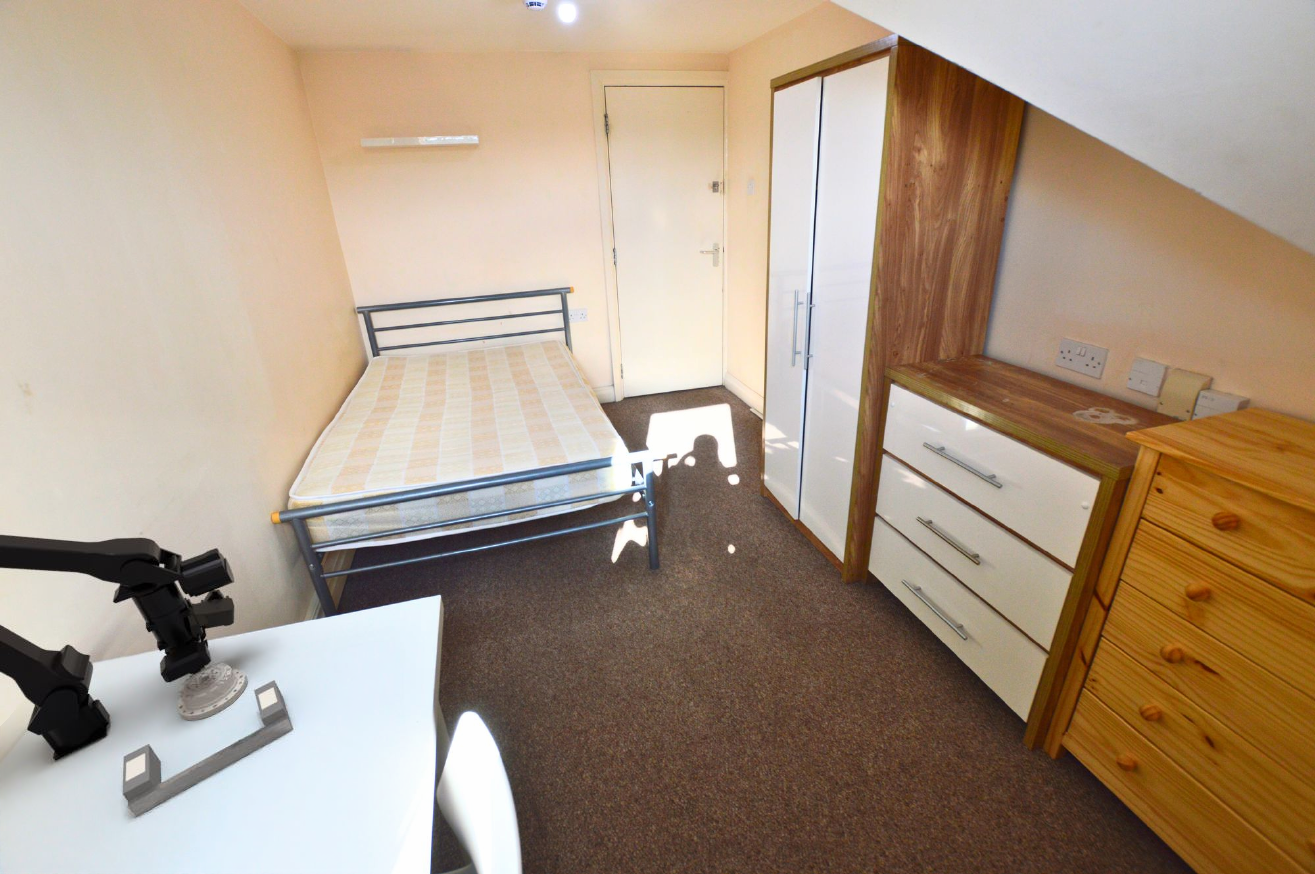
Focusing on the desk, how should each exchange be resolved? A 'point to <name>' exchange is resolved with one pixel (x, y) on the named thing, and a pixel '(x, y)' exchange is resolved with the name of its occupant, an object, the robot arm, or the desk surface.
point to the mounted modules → (146, 766)
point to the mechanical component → (210, 691)
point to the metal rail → (208, 766)
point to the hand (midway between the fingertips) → (202, 674)
